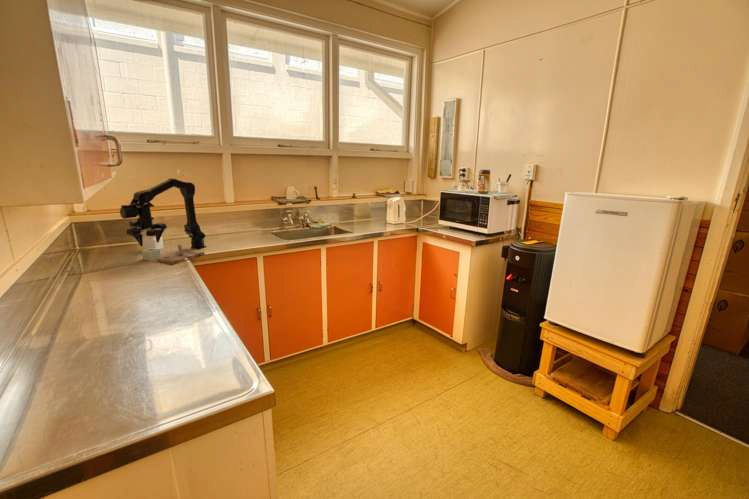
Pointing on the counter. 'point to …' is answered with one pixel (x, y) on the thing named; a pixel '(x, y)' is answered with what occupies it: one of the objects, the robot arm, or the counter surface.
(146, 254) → the square hollow cube
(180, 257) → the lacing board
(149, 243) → the medicine bottle
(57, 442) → the counter surface
